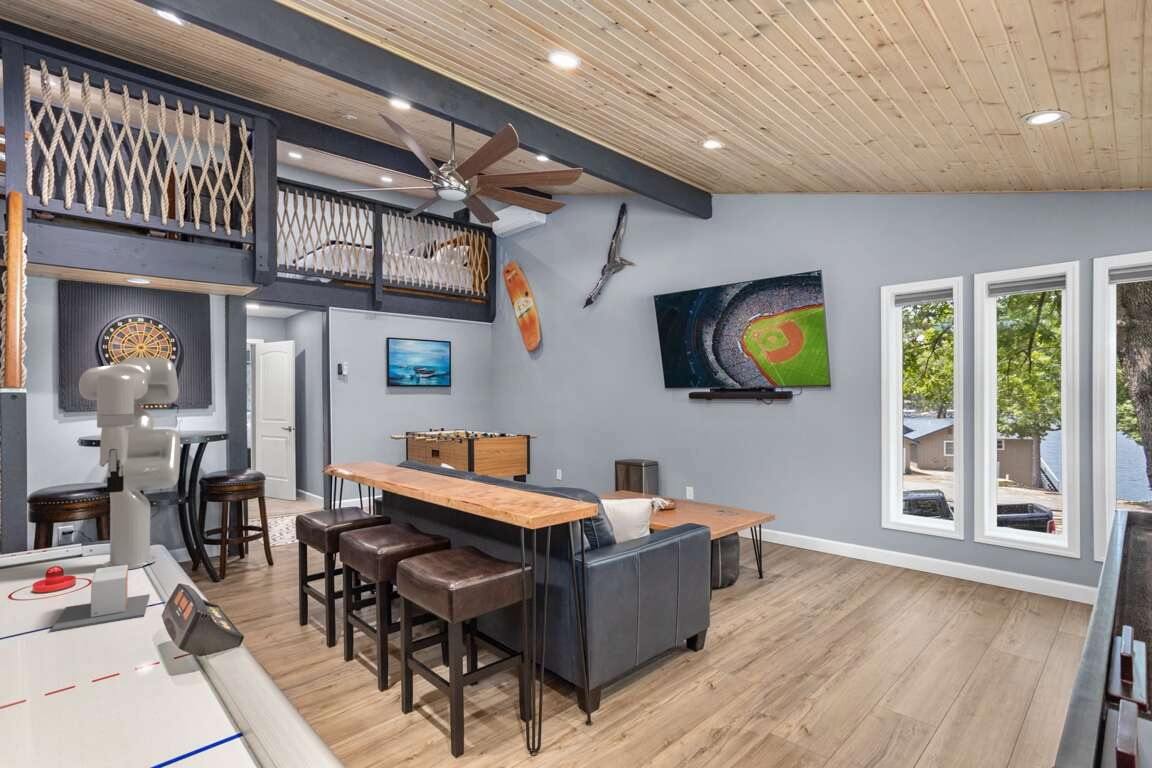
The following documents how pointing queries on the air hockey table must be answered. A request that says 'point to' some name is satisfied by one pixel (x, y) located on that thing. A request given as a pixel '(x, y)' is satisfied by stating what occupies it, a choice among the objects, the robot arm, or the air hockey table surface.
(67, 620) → the mat
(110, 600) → the small box
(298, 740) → the air hockey table surface
